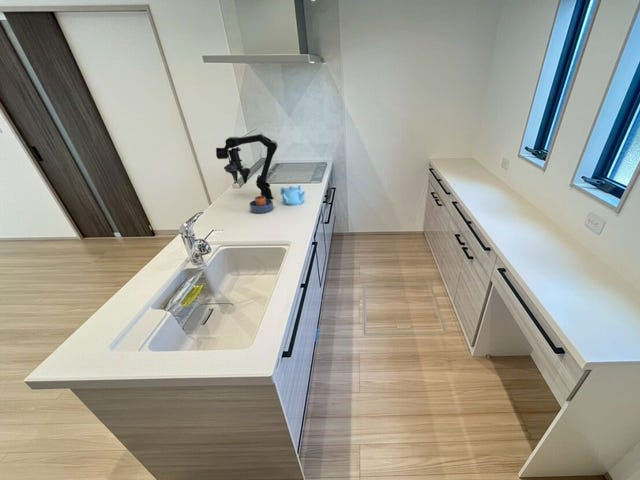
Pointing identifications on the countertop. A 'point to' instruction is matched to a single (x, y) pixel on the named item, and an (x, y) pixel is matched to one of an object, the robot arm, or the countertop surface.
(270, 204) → the bowl
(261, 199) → the cup
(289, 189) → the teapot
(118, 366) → the countertop surface
